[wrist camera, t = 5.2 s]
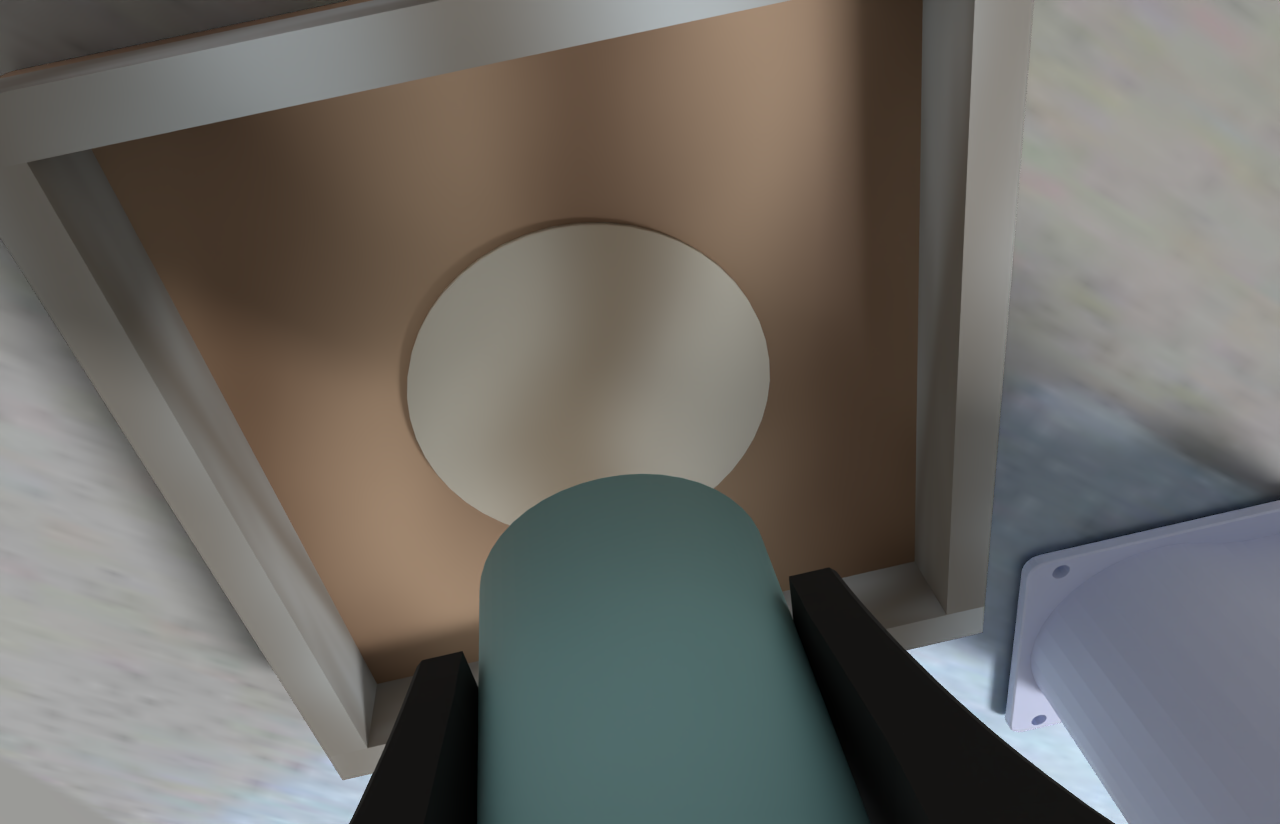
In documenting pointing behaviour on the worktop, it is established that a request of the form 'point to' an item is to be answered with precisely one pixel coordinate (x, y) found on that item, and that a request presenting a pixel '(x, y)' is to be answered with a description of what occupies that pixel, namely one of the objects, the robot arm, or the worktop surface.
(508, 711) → the teal cylinder
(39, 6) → the worktop surface
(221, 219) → the corral
